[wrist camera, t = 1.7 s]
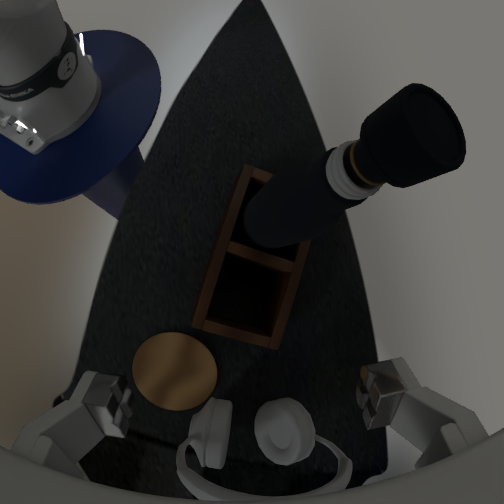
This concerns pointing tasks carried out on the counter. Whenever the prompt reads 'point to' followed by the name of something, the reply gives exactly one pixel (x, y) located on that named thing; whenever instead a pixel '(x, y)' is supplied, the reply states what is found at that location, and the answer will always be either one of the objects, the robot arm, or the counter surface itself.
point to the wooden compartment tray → (284, 266)
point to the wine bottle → (356, 170)
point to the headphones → (269, 440)
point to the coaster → (174, 371)
